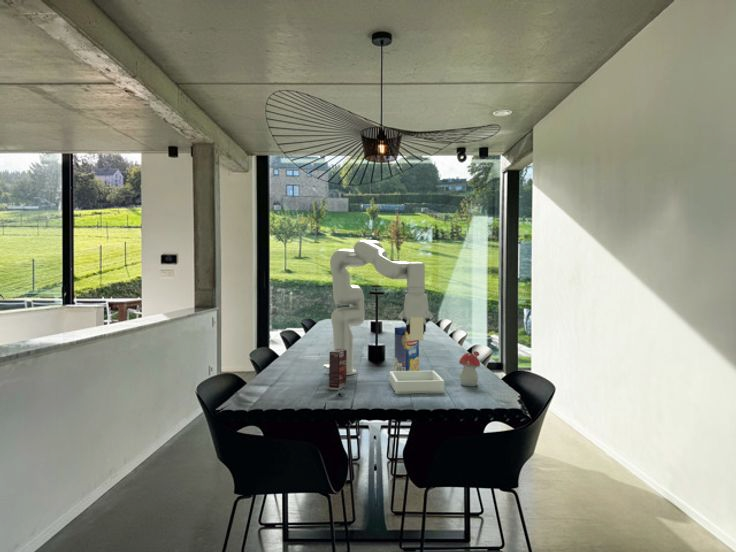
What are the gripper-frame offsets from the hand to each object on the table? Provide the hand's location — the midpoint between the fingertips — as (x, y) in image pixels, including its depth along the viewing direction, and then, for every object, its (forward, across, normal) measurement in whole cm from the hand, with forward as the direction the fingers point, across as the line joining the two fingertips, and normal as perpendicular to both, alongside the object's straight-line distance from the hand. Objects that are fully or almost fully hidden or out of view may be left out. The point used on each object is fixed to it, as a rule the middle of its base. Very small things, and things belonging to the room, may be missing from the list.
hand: (415, 333), depth 230 cm
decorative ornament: (+23, +24, +3) cm, 34 cm away
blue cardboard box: (+23, +1, +34) cm, 41 cm away
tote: (+23, 0, 0) cm, 23 cm away
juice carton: (+2, 0, 0) cm, 2 cm away
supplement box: (+23, -33, +2) cm, 40 cm away
